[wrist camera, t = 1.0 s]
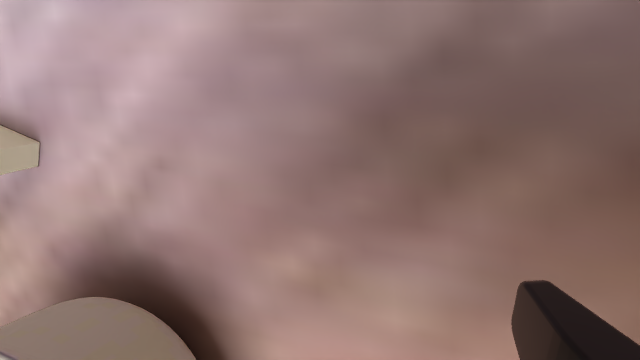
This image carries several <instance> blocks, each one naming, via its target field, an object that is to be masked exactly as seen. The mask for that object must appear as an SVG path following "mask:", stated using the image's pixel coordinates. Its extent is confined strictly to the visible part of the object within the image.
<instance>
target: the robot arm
mask: <svg viewBox="0 0 640 360" xmlns="http://www.w3.org/2000/svg"><path fill="white" fill-rule="evenodd" d="M511 324H512V332H513V336H514V340H515V344H516V347H517V351H518V354H519V358H520V360H640V345H638V344H637V343H635V342H634V341H632V340H631V339H630V338H628V337H627V336H625V335H624V334H623V333H621V332H620V331H618V330H617V329H616V328H614V327H613V326H611V325H610V324H608V323H607V322H606V321H604V320H603V319H601V318H600V317H599V316H597V315H596V314H594V313H593V312H592V311H590V310H589V309H587V308H586V307H584V306H583V305H582V304H580V303H579V302H577V301H576V300H575V299H573V298H572V297H570V296H569V295H568V294H566V293H565V292H563V291H562V290H560V289H559V288H558V287H556V286H555V285H553V284H552V283H550V282H549V281H545V280H536V281H524V282H522V283H520V285H519V287H518V290H517V295H516V300H515V305H514V310H513V315H512V323H511Z"/></svg>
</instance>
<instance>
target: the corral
mask: <svg viewBox="0 0 640 360" xmlns="http://www.w3.org/2000/svg"><path fill="white" fill-rule="evenodd" d="M39 145H40V142H38V141H35V140H33V139H31V138H28V137H26V136H24V135H22V134H19V133H17V132H15V131H12V130H10V129H8V128H6V127H3V126H1V125H0V175H3V174H7V173H11V172H16V171H20V170H25V169H29V168H33V167H38V161H39Z"/></svg>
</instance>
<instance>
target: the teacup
mask: <svg viewBox="0 0 640 360" xmlns="http://www.w3.org/2000/svg"><path fill="white" fill-rule="evenodd" d="M0 360H196V359H195V357H194V355H193V354H192V352H191V351H190V350H189V348H188V347H187V346H186V344H185V343H184V342H183V340H182V339H181V338H180V337H179V336H178V335H177V334H176V333H175V332H174V331H173V330H172V329H171V328H170V327H169V326H168V325H166V324H165V323H164V322H163V321H162V320H160V319H159V318H157V317H156V316H154V315H153V314H152V313H150V312H148V311H146V310H144V309H142V308H140V307H138V306H135V305H133V304H131V303H128V302H124V301H121V300H117V299H112V298H105V297H87V298H79V299H73V300H68V301H65V302H61V303H58V304H55V305H52V306H50V307H47V308H44V309H42V310H39V311H37V312H34V313H31V314H29V315H27V316H25V317H22V318H20V319H18V320H15V321H13V322H11V323H9V324H7V325H4V326H2V327H0Z"/></svg>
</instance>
